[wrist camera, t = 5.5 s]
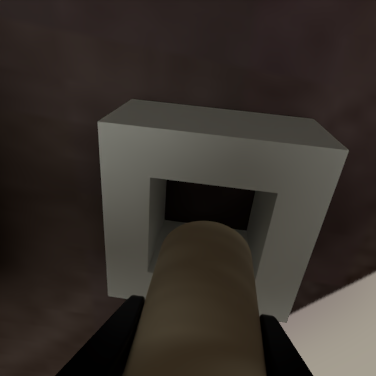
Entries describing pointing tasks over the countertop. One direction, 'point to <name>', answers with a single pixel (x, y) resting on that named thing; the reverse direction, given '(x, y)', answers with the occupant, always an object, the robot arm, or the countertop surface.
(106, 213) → the socket block
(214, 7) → the countertop surface
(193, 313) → the peg
